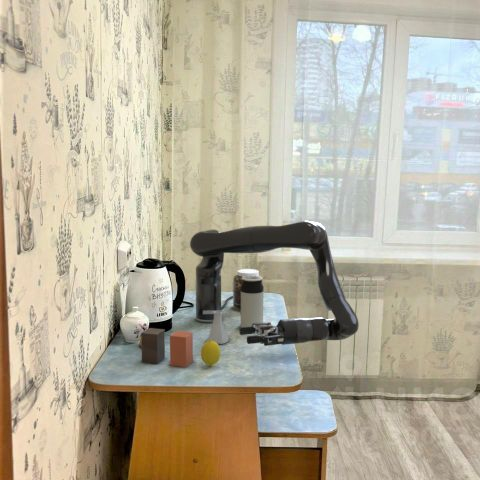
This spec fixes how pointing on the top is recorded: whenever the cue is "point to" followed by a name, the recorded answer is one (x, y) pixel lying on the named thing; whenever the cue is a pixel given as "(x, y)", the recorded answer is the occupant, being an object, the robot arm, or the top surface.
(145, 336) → the walnut block
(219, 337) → the flask
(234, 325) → the top surface
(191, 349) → the terracotta block
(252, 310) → the travel mug
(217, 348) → the lemon
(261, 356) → the top surface
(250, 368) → the top surface
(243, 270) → the jar
